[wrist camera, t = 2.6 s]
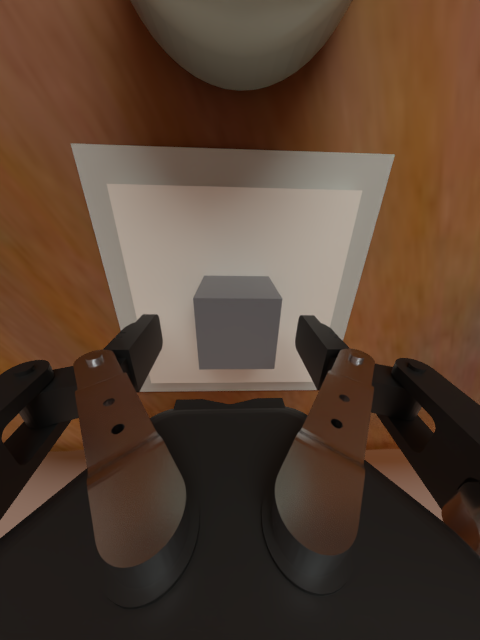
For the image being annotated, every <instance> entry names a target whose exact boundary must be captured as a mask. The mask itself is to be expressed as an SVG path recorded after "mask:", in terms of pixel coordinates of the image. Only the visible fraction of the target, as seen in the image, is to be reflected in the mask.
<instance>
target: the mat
mask: <svg viewBox="0 0 480 640" xmlns="http://www.w3.org/2000/svg"><path fill="white" fill-rule="evenodd" d="M71 146H72V150H73V154H74V158H75V161H76V165H77V169H78V173H79V176H80V180H81V184H82V187H83V191H84V195H85V199H86V202H87V206H88V210H89V213H90V217H91V221H92V225H93V228H94V232H95V236H96V239H97V243H98V247H99V251H100V254H101V258H102V262H103V265H104V269H105V273H106V277H107V280H108V284H109V288H110V292H111V295H112V299H113V303H114V306H115V310H116V314H117V318H118V321H119V325H120V329H121V330H122V329H123V328H124V327H126V326H128V325H130V324H131V323H135V322H136V321H137V318H136V313H135V309H134V304H133V300H132V295H131V291H130V286H129V282H128V278H127V273H126V269H125V264H124V260H123V255H122V251H121V246H120V242H119V237H118V233H117V228H116V224H115V219H114V215H113V211H112V206H111V202H110V197H109V193H108V188H107V184H137V185H175V186H212V187H249V188H287V189H324V190H362V195H361V199H360V203H359V208H358V212H357V216H356V220H355V224H354V229H353V233H352V237H351V241H350V245H349V249H348V254H347V258H346V262H345V266H344V270H343V275H342V279H341V283H340V287H339V291H338V295H337V300H336V304H335V308H334V312H333V316H332V321H331V325H330V328H331V329H332V330H333V331H334V332H335V334H337V335H338V336H339V338H340V339H341V340H342V341H343V338H344V335H345V331H346V328H347V324H348V320H349V317H350V313H351V310H352V306H353V303H354V299H355V295H356V292H357V288H358V285H359V281H360V278H361V274H362V270H363V267H364V263H365V260H366V256H367V252H368V249H369V245H370V242H371V238H372V235H373V231H374V227H375V224H376V220H377V217H378V213H379V210H380V206H381V202H382V199H383V195H384V192H385V188H386V185H387V181H388V177H389V174H390V170H391V167H392V163H393V160H394V156H395V154H366V153H336V152H306V151H277V150H247V149H217V148H188V147H158V146H128V145H99V144H71ZM261 390H317V389H316V387H315V385H314V383H313V382H244V383H151V380H150V376H149V374H148V376H147V378H146V380H145V382H144V384H143V386H142V388H141V390H140V392H167V391H261Z"/></svg>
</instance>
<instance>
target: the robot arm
mask: <svg viewBox="0 0 480 640" xmlns="http://www.w3.org/2000/svg"><path fill="white" fill-rule="evenodd" d="M162 345H163V338H162V332H161V326H160V320H159V316H158V315H157V314H143V315H142V316H141V317H140V318H139V319H138V320H137V321H136V322H135V323H131V324H130V325H128V326H126V327H124V328H123V329H122V330H121V332H120V333H119V334H118V335H117V336H116V338H114V339H113V340H112V341H111V342H110V343H109V344H108V345H107V346H106V347H105V348H104V349H103V350H96V351H92V352H89V353H87V354H84V355H82V356H81V357H79V358H78V359H77V360H76V361H75V362H74V364H73V366H71V367H65V368H60V369H55V370H52V368H51V366H50V364H49V362H48V361H45V360H35V361H29V362H26V363H22V364H19V365H17V366H15V367H12V368H10V369H9V370H7V371H5V372H4V373H3V374H1V375H0V520H1V518H2V517H3V516H4V514H5V513H6V511H7V510H8V508H9V507H10V505H11V504H12V503H13V501H14V500H15V499H16V497H17V496H18V494H19V493H20V492H21V490H22V489H23V487H24V486H25V484H26V483H27V482H28V480H29V479H30V478H31V476H32V475H33V473H34V472H35V471H36V469H37V468H38V466H39V465H40V464H41V462H42V461H43V459H44V458H45V457H46V455H47V454H48V452H49V451H50V450H51V448H52V447H53V445H54V444H55V443H56V441H57V440H58V438H59V437H60V436H61V434H62V433H63V431H64V430H65V428H66V427H67V426H68V424H69V423H70V421H71V420H72V419H76V418H79V422H80V428H81V434H82V440H83V446H84V452H85V458H86V464H87V469H86V470H84V471H83V472H82V473H81V474H79V475H78V476H77V477H76V478H75V479H73V480H72V481H71V482H70V483H68V484H67V485H66V486H65V487H64V488H62V489H61V490H60V491H58V492H57V493H56V494H55V495H54V496H52V497H51V498H50V499H48V500H47V501H46V502H45V503H44V504H42V505H41V506H40V507H39V508H37V509H36V510H35V511H34V512H32V513H31V514H30V515H29V516H27V517H26V518H25V519H24V520H22V521H21V522H20V523H19V524H17V525H16V526H15V527H14V528H13V529H11V530H10V531H9V532H8V533H6V534H5V535H4V536H3V537H1V538H0V640H480V405H478V404H477V403H476V402H475V401H473V400H472V399H471V398H470V397H468V396H467V395H466V394H464V393H463V392H462V391H461V390H459V389H458V388H457V387H456V386H454V385H453V384H452V383H451V382H449V381H448V380H447V379H445V378H444V377H443V376H442V375H440V374H439V373H438V372H437V371H435V370H434V369H433V368H431V367H430V366H428V365H426V364H424V363H422V362H419V361H417V360H413V359H408V358H399V359H397V360H396V362H395V364H394V366H393V367H390V366H384V365H379V364H375V361H374V359H373V358H372V357H371V356H370V355H368V354H366V353H364V352H362V351H359V350H356V349H350V348H349V347H348V346H347V345H346V344H345V343H344V342H343V341H342V340H341V339H340V338H339V336H338V335H337V334H335V332H334V331H333V330H332V329H331V328H330V327H328V326H327V325H325V324H323V323H320V321H319V320H318V319H317V318H316V317H315V316H314V315H300V317H299V319H298V325H297V331H296V337H295V346H296V350H297V352H298V354H299V356H300V358H301V359H302V361H303V363H304V365H305V367H306V369H307V371H308V373H309V375H310V377H311V379H312V381H313V383H314V385H315V387H316V389H317V390H319V392H318V395H317V397H316V399H315V401H314V403H313V405H312V407H311V409H310V412H309V414H308V415H306V414H304V413H302V412H300V411H298V410H296V409H293V408H289V407H285V405H284V402H283V399H282V398H257V399H252V400H248V401H244V402H240V403H235V404H224V403H219V402H214V401H209V400H204V399H196V400H176V403H175V406H174V409H170V410H167V411H164V412H162V413H159V414H157V415H155V416H153V417H152V418H149V416H148V414H147V412H146V410H145V408H144V406H143V404H142V402H141V401H140V399H139V397H138V395H137V393H136V392H140V390H141V388H142V386H143V384H144V382H145V380H146V378H147V376H148V374H149V373H150V371H151V369H152V367H153V365H154V363H155V361H156V359H157V357H158V355H159V353H160V351H161V349H162ZM421 407H423V408H424V409H425V410H426V411H427V412H428V414H429V415H430V416H431V417H432V418H433V420H434V422H435V426H436V429H435V432H434V433H433V432H432V431H431V430H430V429H429V427H428V426H427V425H426V424H425V423H424V422H423V421H422V420H421V418H420V417H419V416H418V415H417V414H418V412H419V410H420V409H421ZM371 412H372V413H376V414H377V416H378V417H379V419H380V420H381V422H382V423H383V425H384V426H385V427H386V429H387V430H388V432H389V433H390V435H391V436H392V438H393V439H394V441H395V442H396V444H397V445H398V447H399V448H400V449H401V451H402V452H403V454H404V455H405V457H406V458H407V460H408V461H409V463H410V464H411V465H412V467H413V469H414V470H415V471H416V473H417V474H418V476H419V477H420V478H421V480H422V482H423V483H424V484H425V486H426V488H427V489H428V490H429V492H430V493H431V495H432V496H433V498H434V499H435V501H436V502H437V504H438V505H439V507H440V508H441V510H442V518H443V521H441V520H440V519H439V518H438V517H436V516H435V515H434V514H433V513H431V512H430V511H429V510H427V509H426V508H425V507H424V506H422V505H421V504H420V503H419V502H417V501H416V500H415V499H413V498H412V497H411V496H410V495H409V494H407V493H406V492H405V491H404V490H402V489H401V488H400V487H398V486H397V485H396V484H395V483H393V482H392V481H390V480H389V479H388V478H387V477H386V476H385V475H383V474H382V473H381V472H379V471H378V470H377V469H376V468H374V467H373V466H372V465H371V464H369V463H368V462H367V461H366V460H364V457H365V450H366V443H367V436H368V429H369V422H370V415H371ZM18 413H19V414H20V415H21V417H22V419H23V420H24V422H23V423H22V424H21V425H20V426H19V428H18V429H17V430H16V431H15V432H14V433H13V434H12V435H11V436H10V437H9V438H8V439H7V440H6V441H5V442H4V444H3V442H2V439H1V437H2V432H3V430H4V428H5V427H6V425H7V424H8V423H9V422H10V421H11V420H12V419H13V418H14V417H15V416H16V415H17V414H18Z"/></svg>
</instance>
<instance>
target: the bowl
mask: <svg viewBox="0 0 480 640" xmlns="http://www.w3.org/2000/svg"><path fill="white" fill-rule="evenodd" d="M130 1H131V3H132V5H133V6H134V8H135V10H136V12H137V14H138V15H139V17H140V19H141V20H142V22H143V23H144V25H145V26H146V28H147V29H148V31H149V32H150V34H151V35H152V36H153V38H154V39H155V40H156V41H157V43H158V44H159V45H160V46H161V47H162V48H163V50H164V51H165V52H166V53H167V54H168V55H169V56H170V57H171V58H172V59H173V60H174V61H175V62H176V63H178V64H179V65H180V66H181V67H182V68H184V69H185V70H186V71H188V72H189V73H191V74H192V75H193V76H195V77H197V78H199V79H201V80H203V81H205V82H207V83H208V84H211V85H214V86H217V87H220V88H224V89H230V90H238V91H242V90H255V89H260V88H264V87H268V86H271V85H273V84H275V83H278V82H280V81H282V80H284V79H286V78H287V77H289V76H290V75H292V74H294V73H295V72H297V71H298V70H299V69H300V68H301V67H303V66H304V65H305V64H306V63H307V62H309V61H310V60H311V59H312V58H313V57H314V55H315V54H316V53H317V52H318V51H319V50H320V49H321V48H322V47H323V46H324V44H325V43H326V42H327V40H328V39H329V37H330V36H331V35H332V33H333V32H334V31H335V29H336V28H337V26H338V24H339V23H340V21H341V19H342V18H343V16H344V14H345V13H346V11H347V9H348V7H349V6H350V4H351V2H352V0H130Z"/></svg>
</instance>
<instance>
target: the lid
mask: <svg viewBox="0 0 480 640" xmlns="http://www.w3.org/2000/svg"><path fill="white" fill-rule="evenodd" d="M107 188H108V193H109V197H110V202H111V206H112V211H113V215H114V219H115V224H116V228H117V233H118V237H119V242H120V246H121V251H122V255H123V260H124V264H125V269H126V273H127V278H128V282H129V286H130V291H131V295H132V300H133V304H134V309H135V313H136V318H137V320H138V319H139V318H140V317H141V316H142V315H143V314H157V315H158V316H159V320H160V326H161V332H162V338H163V345H162V349H161V351H160V353H159V355H158V357H157V359H156V361H155V363H154V365H153V367H152V369H151V371H150V373H149V376H150V380H151V383H244V382H313V381H312V379H311V377H310V375H309V373H308V371H307V369H306V367H305V365H304V363H303V361H302V359H301V358H300V356H299V354H298V352H297V350H296V346H295V337H296V331H297V325H298V319H299V317H300V315H314V316H315V317H316V318H317V319H318V320H319V321H320V323H323V324H325V325H327V326H328V327H330V325H331V321H332V316H333V312H334V308H335V304H336V300H337V295H338V291H339V287H340V283H341V279H342V275H343V270H344V266H345V262H346V258H347V254H348V249H349V245H350V241H351V237H352V233H353V229H354V224H355V220H356V216H357V212H358V208H359V203H360V199H361V195H362V190H324V189H287V188H249V187H212V186H175V185H137V184H107Z"/></svg>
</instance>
